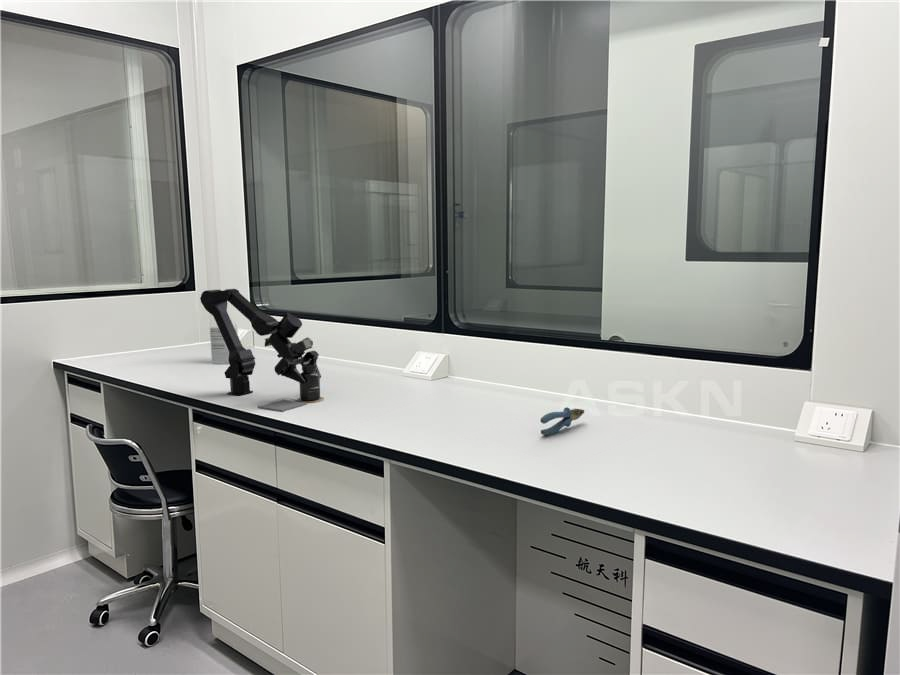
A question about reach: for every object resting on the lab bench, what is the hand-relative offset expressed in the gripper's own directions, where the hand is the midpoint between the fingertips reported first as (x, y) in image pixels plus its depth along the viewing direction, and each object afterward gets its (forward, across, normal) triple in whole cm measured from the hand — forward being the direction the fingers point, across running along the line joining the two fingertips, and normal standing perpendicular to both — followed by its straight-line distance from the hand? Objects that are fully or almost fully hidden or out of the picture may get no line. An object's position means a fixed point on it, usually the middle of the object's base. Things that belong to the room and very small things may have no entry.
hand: (312, 380), depth 227 cm
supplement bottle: (+4, 0, +6) cm, 7 cm away
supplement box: (-54, +51, +63) cm, 97 cm away
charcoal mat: (+2, -11, +8) cm, 13 cm away
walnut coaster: (+4, 0, +6) cm, 7 cm away
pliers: (+67, -7, -57) cm, 88 cm away
